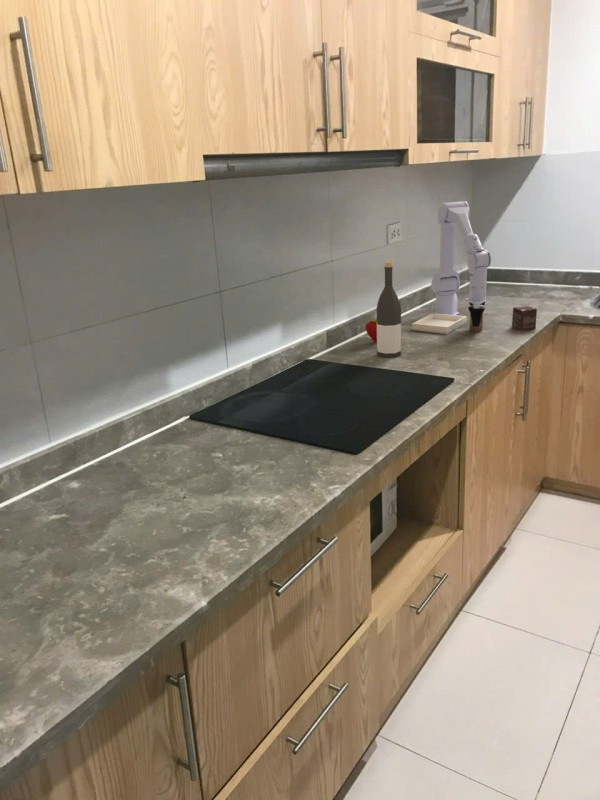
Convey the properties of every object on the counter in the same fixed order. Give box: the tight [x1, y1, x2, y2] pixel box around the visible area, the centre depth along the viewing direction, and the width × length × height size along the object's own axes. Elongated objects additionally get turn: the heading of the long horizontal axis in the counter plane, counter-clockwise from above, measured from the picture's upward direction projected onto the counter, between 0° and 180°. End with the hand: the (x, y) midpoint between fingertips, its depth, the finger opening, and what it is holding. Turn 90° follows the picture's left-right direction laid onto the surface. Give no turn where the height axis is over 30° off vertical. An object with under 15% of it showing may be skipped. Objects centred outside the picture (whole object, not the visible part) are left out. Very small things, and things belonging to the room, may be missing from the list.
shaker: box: [469, 305, 485, 333], centre depth 231 cm, size 5×5×9 cm
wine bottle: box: [376, 261, 402, 359], centre depth 205 cm, size 8×8×30 cm
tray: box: [411, 312, 468, 335], centre depth 240 cm, size 18×14×2 cm
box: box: [511, 305, 538, 331], centre depth 231 cm, size 6×6×7 cm
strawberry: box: [364, 318, 377, 344], centre depth 223 cm, size 6×8×10 cm
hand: (476, 323), depth 232 cm, fingers open, 7 cm apart
